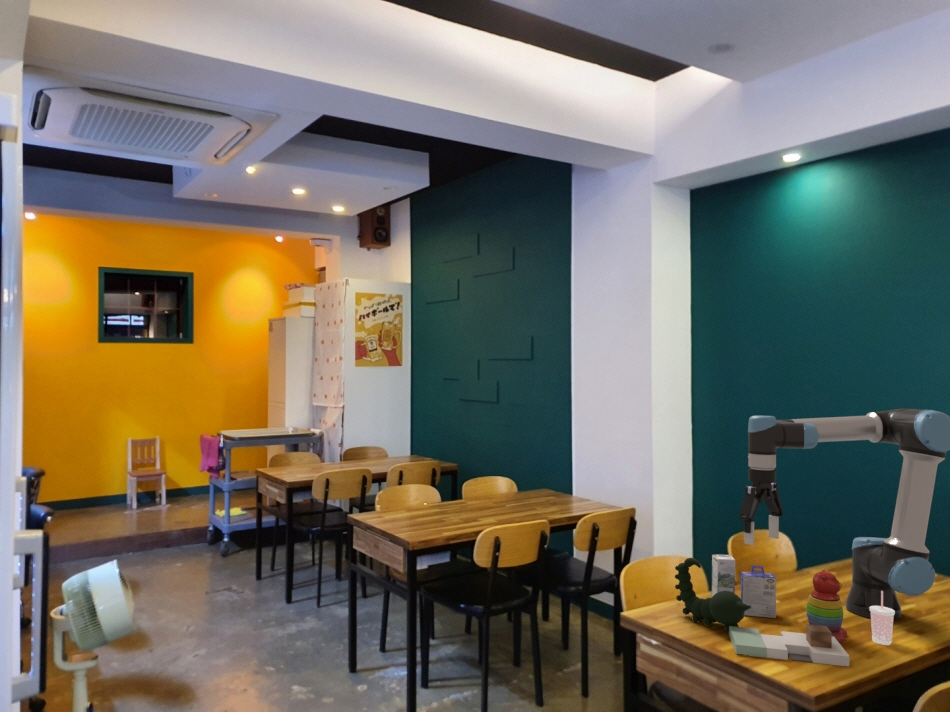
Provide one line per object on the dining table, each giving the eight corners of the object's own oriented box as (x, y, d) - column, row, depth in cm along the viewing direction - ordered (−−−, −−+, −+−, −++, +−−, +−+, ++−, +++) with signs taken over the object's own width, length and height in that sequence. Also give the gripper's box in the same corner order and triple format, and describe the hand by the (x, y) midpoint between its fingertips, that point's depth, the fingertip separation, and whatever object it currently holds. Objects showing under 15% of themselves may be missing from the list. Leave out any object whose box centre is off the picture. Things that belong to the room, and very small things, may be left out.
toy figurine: (670, 621, 209) (741, 641, 188) (667, 557, 211) (736, 570, 190) (691, 616, 214) (762, 635, 193) (687, 553, 216) (758, 565, 195)
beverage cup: (888, 647, 187) (888, 595, 187) (865, 640, 192) (865, 589, 192) (898, 643, 191) (898, 592, 191) (875, 636, 196) (875, 586, 196)
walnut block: (826, 641, 184) (826, 626, 184) (831, 648, 179) (831, 632, 179) (806, 639, 185) (806, 624, 185) (810, 646, 180) (810, 630, 180)
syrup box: (728, 598, 226) (729, 554, 227) (735, 604, 221) (735, 558, 221) (711, 598, 227) (711, 553, 227) (717, 604, 221) (717, 558, 221)
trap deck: (833, 645, 188) (833, 636, 188) (849, 666, 174) (849, 656, 174) (729, 635, 194) (729, 626, 194) (736, 654, 180) (736, 644, 180)
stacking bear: (844, 645, 188) (845, 579, 189) (803, 637, 194) (804, 573, 194) (847, 633, 197) (847, 570, 198) (808, 625, 203) (809, 564, 203)
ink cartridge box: (773, 612, 213) (773, 565, 214) (777, 618, 208) (777, 570, 208) (739, 609, 215) (739, 563, 216) (742, 615, 210) (743, 567, 210)
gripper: (771, 464, 213) (771, 533, 213) (726, 469, 198) (726, 544, 197) (795, 466, 207) (795, 537, 207) (751, 473, 192) (750, 549, 191)
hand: (761, 541), depth 202 cm, fingers open, 13 cm apart
